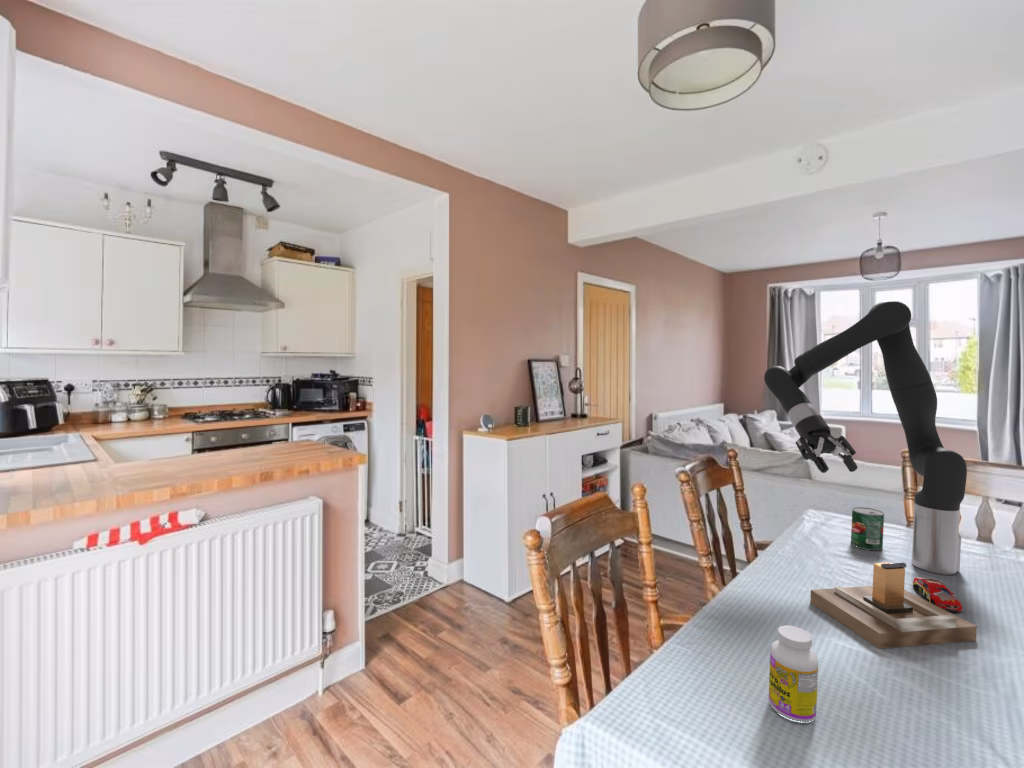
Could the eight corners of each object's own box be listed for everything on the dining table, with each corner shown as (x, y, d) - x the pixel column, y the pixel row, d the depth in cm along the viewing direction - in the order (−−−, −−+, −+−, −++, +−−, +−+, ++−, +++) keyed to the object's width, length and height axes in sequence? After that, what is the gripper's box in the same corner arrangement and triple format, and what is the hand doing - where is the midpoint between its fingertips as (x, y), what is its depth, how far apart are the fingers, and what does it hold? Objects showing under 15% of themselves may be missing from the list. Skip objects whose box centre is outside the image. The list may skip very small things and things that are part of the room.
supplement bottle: (759, 696, 79) (761, 622, 79) (796, 694, 80) (799, 620, 79) (786, 727, 73) (788, 646, 72) (826, 725, 73) (829, 644, 73)
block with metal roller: (888, 599, 106) (890, 555, 106) (912, 612, 101) (914, 566, 100) (863, 600, 105) (865, 556, 105) (886, 614, 100) (888, 567, 99)
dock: (893, 596, 113) (894, 576, 113) (976, 640, 96) (977, 616, 95) (810, 602, 111) (811, 581, 110) (879, 648, 93) (880, 623, 93)
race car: (966, 617, 105) (967, 599, 105) (936, 612, 107) (937, 595, 107) (936, 590, 118) (936, 574, 117) (909, 586, 119) (910, 571, 119)
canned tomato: (844, 542, 148) (845, 507, 147) (864, 540, 150) (865, 506, 149) (868, 552, 140) (870, 515, 140) (889, 550, 142) (891, 513, 141)
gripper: (792, 414, 132) (824, 463, 121) (838, 413, 134) (873, 462, 123) (779, 430, 137) (808, 479, 127) (822, 429, 140) (854, 477, 129)
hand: (840, 470), depth 125 cm, fingers open, 8 cm apart
